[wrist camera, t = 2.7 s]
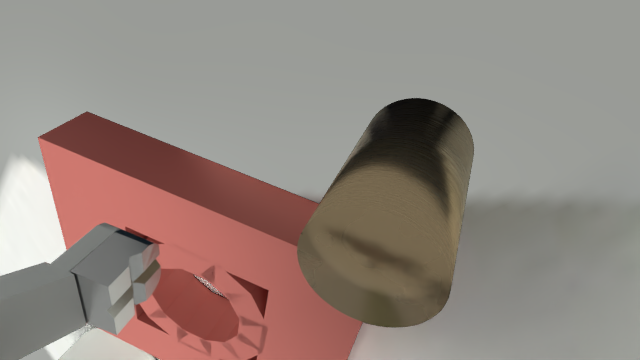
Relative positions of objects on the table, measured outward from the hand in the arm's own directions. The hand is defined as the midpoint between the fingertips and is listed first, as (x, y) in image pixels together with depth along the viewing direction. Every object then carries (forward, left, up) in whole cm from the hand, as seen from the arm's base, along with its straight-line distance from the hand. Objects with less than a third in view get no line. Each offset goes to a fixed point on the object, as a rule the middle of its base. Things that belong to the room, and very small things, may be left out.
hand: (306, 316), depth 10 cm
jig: (+7, +12, -9) cm, 16 cm away
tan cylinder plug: (-1, 0, -9) cm, 9 cm away
